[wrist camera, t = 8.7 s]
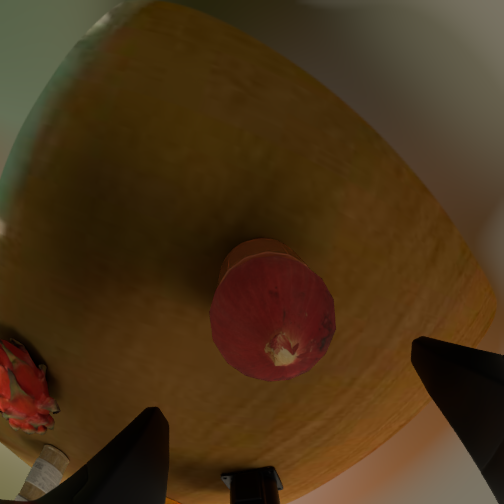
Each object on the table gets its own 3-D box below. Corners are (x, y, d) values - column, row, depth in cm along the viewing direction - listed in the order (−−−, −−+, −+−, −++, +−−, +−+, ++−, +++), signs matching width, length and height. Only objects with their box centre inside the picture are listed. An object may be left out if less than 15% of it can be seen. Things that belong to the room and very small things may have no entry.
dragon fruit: (76, 404, 23) (16, 319, 22) (82, 412, 18) (5, 300, 17) (32, 443, 17) (-30, 355, 16) (25, 461, 11) (-53, 345, 10)
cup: (308, 305, 20) (327, 334, 16) (232, 324, 20) (231, 359, 16) (293, 228, 19) (310, 240, 14) (209, 249, 19) (201, 268, 14)
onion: (324, 266, 16) (393, 297, 9) (294, 351, 17) (331, 430, 9) (231, 237, 16) (227, 247, 8) (204, 328, 16) (183, 405, 8)
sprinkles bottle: (52, 457, 24) (24, 514, 11) (40, 439, 23) (6, 499, 10) (74, 465, 24) (49, 528, 11) (62, 448, 23) (31, 514, 10)
